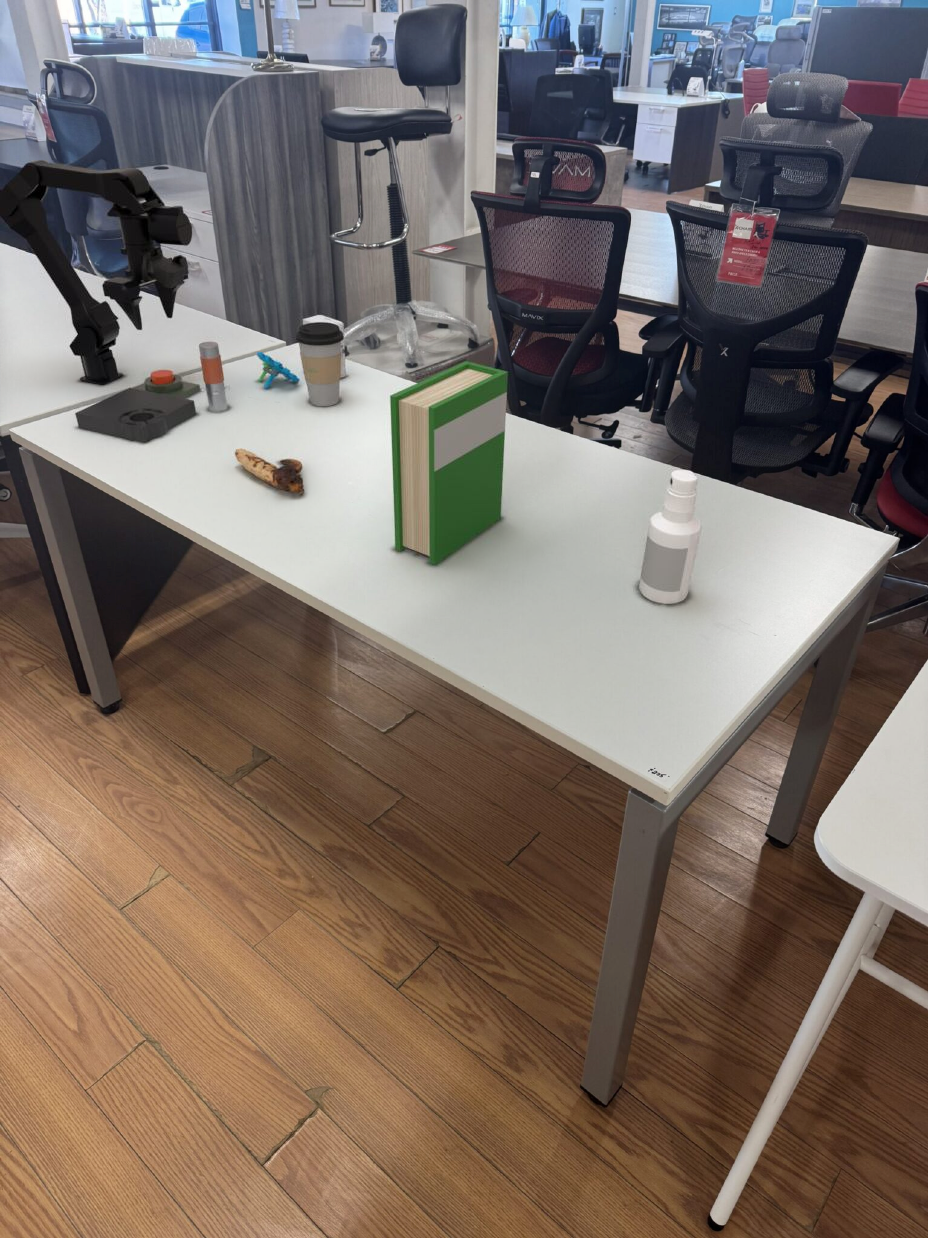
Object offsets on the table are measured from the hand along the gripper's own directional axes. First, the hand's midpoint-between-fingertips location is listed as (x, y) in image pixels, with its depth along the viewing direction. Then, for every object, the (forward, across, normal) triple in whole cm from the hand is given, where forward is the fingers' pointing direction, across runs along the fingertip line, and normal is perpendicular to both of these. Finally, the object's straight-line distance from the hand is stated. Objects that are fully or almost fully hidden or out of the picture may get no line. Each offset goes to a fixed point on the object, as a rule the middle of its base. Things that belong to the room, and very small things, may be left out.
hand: (155, 323), depth 173 cm
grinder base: (+13, -18, -8) cm, 24 cm away
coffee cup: (+13, +7, -35) cm, 38 cm away
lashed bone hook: (+13, -27, -46) cm, 55 cm away
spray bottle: (+13, -34, -115) cm, 121 cm away
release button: (+10, -4, -3) cm, 12 cm away
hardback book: (+13, -32, -81) cm, 88 cm away
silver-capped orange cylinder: (+13, -6, -18) cm, 23 cm away
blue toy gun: (+13, +11, -21) cm, 27 cm away
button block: (+13, -4, -3) cm, 14 cm away
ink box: (+13, +21, -27) cm, 37 cm away
